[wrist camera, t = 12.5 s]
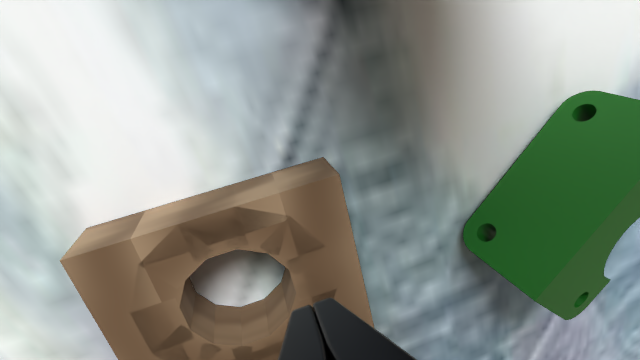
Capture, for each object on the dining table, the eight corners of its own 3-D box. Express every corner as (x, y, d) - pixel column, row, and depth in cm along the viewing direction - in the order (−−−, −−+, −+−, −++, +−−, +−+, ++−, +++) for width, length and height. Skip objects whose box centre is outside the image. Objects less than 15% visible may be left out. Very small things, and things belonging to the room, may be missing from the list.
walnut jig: (323, 157, 19) (339, 173, 16) (379, 390, 26) (397, 430, 23) (86, 228, 17) (59, 260, 15) (210, 458, 24) (207, 510, 21)
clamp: (476, 218, 28) (542, 335, 22) (436, 187, 25) (501, 315, 19) (642, 119, 23) (791, 235, 17) (622, 62, 20) (800, 182, 13)
